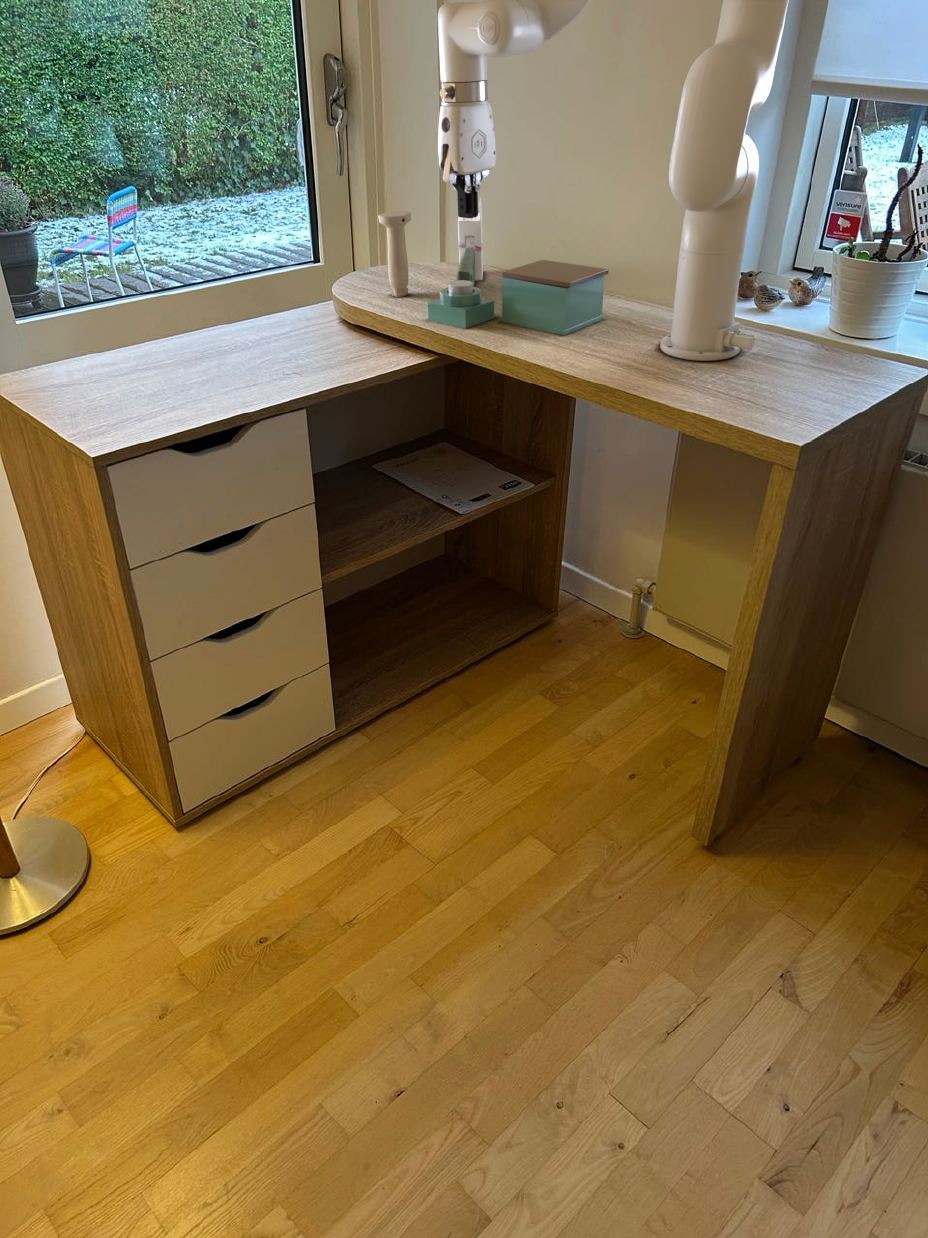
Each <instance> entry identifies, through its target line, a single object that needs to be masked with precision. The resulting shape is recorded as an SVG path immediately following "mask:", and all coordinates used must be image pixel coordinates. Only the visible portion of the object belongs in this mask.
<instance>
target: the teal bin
mask: <svg viewBox="0 0 928 1238" xmlns="http://www.w3.org/2000/svg"><path fill="white" fill-rule="evenodd" d="M501 279H502V280H501V282H502V283H501V284H502V285H501V291H502V292H501V294H502V295H501V299H502V300H501V302H502V303H501V304H502V305H501V306H502V307H501V308H502V309H501V311H502V313H501V314H502V315H501V316H502V321H501V323H505V324H511V325H514V326H519V327H523V328H524V327H525V328H528V329H534V330H539V331H542V332H548V333H552V334H556V335H560V336H566V335H569V334H571V333H573V332H576V331H579V330H580V329H583V328H585V327H586V328H587V327H588V326H590V325H592V324H595V323H598V322H600V321H602V319H603V307H604V305H603V304H604V291H605V289H604V287H605V275H604V276H601V277H598V278H596V279H593V280H590V281H587V282H584V283H582V284H579V285H576V286H573V287H570V288H568V287H562V286H556V285H550V284H544V283H538V282H531V281H525V280H519V279H513V278H507V277H502V278H501Z"/></svg>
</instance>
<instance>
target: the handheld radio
mask: <svg viewBox="0 0 928 1238" xmlns="http://www.w3.org/2000/svg"><path fill="white" fill-rule="evenodd" d="M457 280H466V281H471V282H473V287H475V283H476V282H475V281H476V280H475V250H474V249H473V248H466V249H465V250H464V251H463V254H462V257H461V259H460V262H458V266H457V272H456V281H457Z"/></svg>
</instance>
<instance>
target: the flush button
mask: <svg viewBox="0 0 928 1238" xmlns="http://www.w3.org/2000/svg"><path fill="white" fill-rule="evenodd" d="M447 288H448V293H449V294H454V295H464V294H470V293H473V282H471V281H466V280H457V279H456V280H451V281H449V282H448V283H447Z"/></svg>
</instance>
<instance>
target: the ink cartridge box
mask: <svg viewBox="0 0 928 1238" xmlns="http://www.w3.org/2000/svg"><path fill="white" fill-rule="evenodd" d="M457 231H458V232H457V233H458V234H457V236H458V239H457V240H458V260H459V262H460V259H461V257H462V254H463V251H464V250H465V249H466V248H473V249H474V250H475V281H483V276H484V211H483V202H482V197H479V200H478V217H474V218H462V217H459V216H458V217H457ZM459 262H458V263H459Z"/></svg>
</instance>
